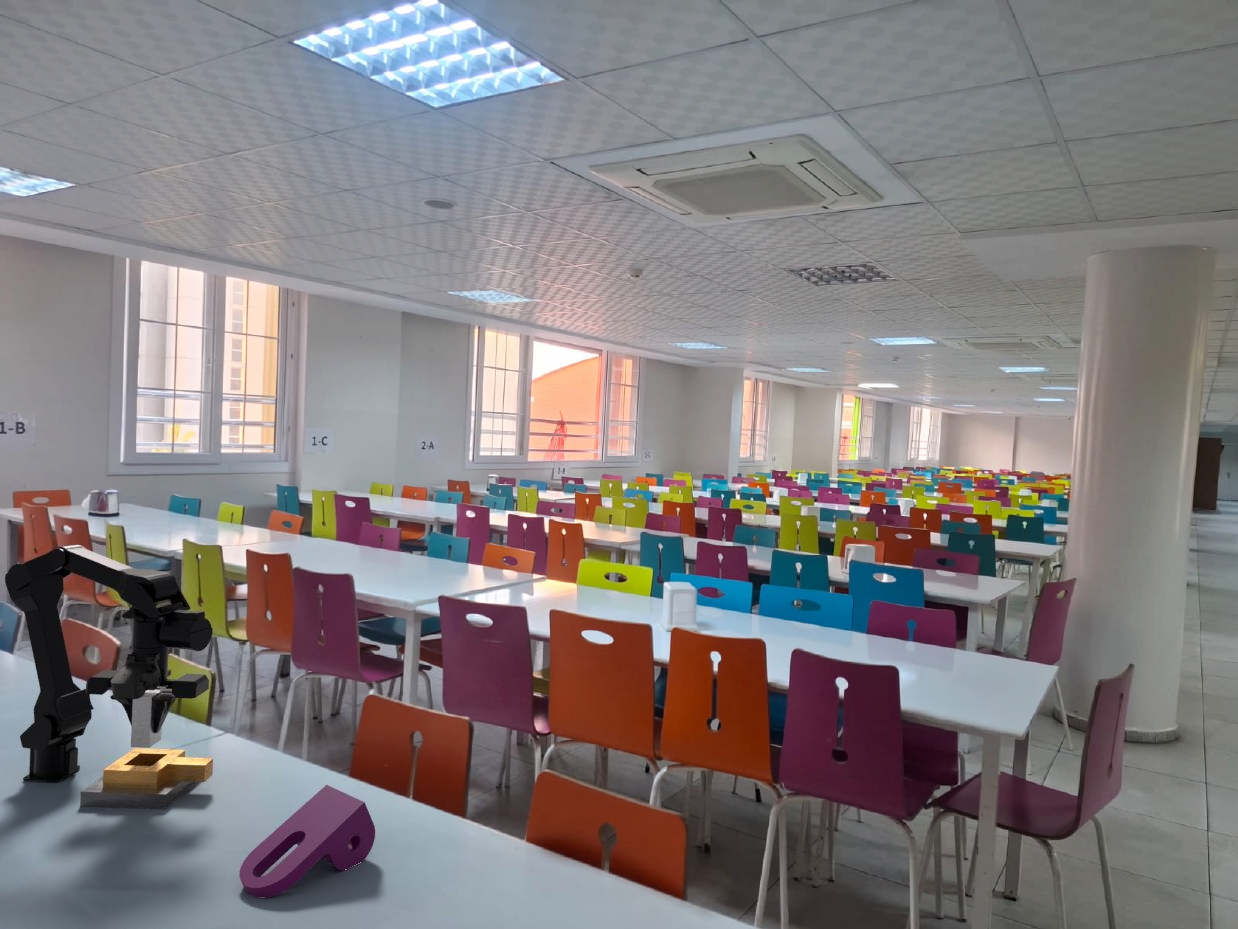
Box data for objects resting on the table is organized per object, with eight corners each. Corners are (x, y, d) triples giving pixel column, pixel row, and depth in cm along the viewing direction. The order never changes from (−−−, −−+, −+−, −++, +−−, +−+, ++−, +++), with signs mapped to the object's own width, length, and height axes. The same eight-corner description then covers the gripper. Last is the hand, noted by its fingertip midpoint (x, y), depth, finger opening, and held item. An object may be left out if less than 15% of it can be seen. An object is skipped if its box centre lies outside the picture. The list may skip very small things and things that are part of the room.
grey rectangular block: (130, 747, 144) (133, 696, 144) (142, 739, 148) (145, 689, 148) (149, 748, 144) (151, 697, 144) (161, 739, 148) (163, 690, 148)
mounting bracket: (285, 939, 116) (381, 842, 129) (264, 897, 113) (364, 802, 126) (247, 914, 121) (343, 823, 134) (226, 873, 118) (326, 784, 131)
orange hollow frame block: (80, 806, 139) (81, 774, 139) (125, 773, 153) (126, 743, 153) (189, 810, 140) (190, 777, 140) (224, 776, 154) (226, 747, 154)
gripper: (67, 654, 137) (63, 746, 137) (182, 659, 138) (178, 751, 138) (106, 638, 148) (102, 724, 149) (212, 643, 149) (208, 728, 150)
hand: (146, 732), depth 146 cm, fingers closed on grey rectangular block, 3 cm apart
